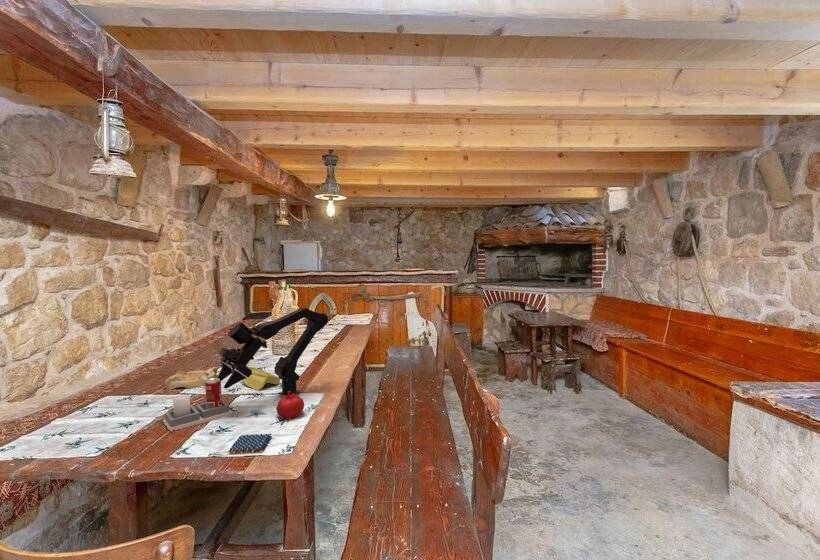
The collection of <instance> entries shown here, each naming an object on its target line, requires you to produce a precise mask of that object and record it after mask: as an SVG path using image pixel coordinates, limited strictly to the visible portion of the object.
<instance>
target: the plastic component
mask: <svg viewBox="0 0 820 560" xmlns="http://www.w3.org/2000/svg"><path fill="white" fill-rule="evenodd" d="M246 366H247V367H248V368H249V369H250V370H252V374H251V376H250V377H249V378H248V377H246V376H245V377H246V379H243V380H242V381H243V383H244V385H245V386H247V387H249V388H252V389H253V390H255V391H261V390H262V389H263V388H264V387H265V385H266V384H271V385H276V386H277V385H278V386H279V384H280V383H281V379H279V377H278V375H276V374H275V375H274V374H272V373H269V372H267V371H264V370H262V369H259V368H255V367H252V366H249V365H246Z"/></svg>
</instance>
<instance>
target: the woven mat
mask: <svg viewBox="0 0 820 560" xmlns="http://www.w3.org/2000/svg"><path fill="white" fill-rule="evenodd" d="M271 435H272V433H265V434H262V433H259V434H258V433H257V434H253V433H252V434H241V435H240V436H239V437H238V438H237V439H236V440H235V442H234V443H233V445H232V446H231V448H229V449H228V453H229V455H231V454H233V455H235V454H236V455H239V454H247V453H248V454H254V453H255V454H257V453H258V452H259V453H263V451H265V449H266V447H267V446H268V444H269V443H270V440H271V439H272V438H273V436H271Z"/></svg>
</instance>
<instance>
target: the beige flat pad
mask: <svg viewBox="0 0 820 560" xmlns="http://www.w3.org/2000/svg"><path fill="white" fill-rule="evenodd" d="M217 372H218V369H217V368H215V367H209V368H208V369H205V370H202V369H201V370H191V371H185V370H177V371H175V374H173V375H170V377H168V378H167V379H165V381H164V383H163V385H164V389H165V388H166V389H165V390H173V389H176V388H187V389H196V387H197V388H202V387H201V386H203V387H205V384H206V381H207V380H208V379H212V378H217V377H218V375H217Z"/></svg>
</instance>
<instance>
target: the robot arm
mask: <svg viewBox="0 0 820 560" xmlns="http://www.w3.org/2000/svg"><path fill="white" fill-rule="evenodd" d="M302 319H306V320H307V324H306V327H305V329H304V331H303V332H302V333H301V335H300V337H299V338H298V339H297V341H296V342H295V344H294V345H293V347H292V349H291V350H290V351H289V353H288V354H287V355H286V356H285V357H283V356H280V357H279V358H278V360H277V362H276V363H275V364H274V365H275V366H274V369H273V370H274V373H275V376H277V377H279V379H280V380H281V391H280V392H278V395H279V396H281V395H284V396H288V393H287V392H288V391H291V392H290V395H293V394H294V393H295V394H298V395H299V394H300V393H301V392H300V391H299V390H297V382H298V381H299V379H300V377H301V376H300V374H298V373H297V372H295V371H296V370H297V365H298V361H299V359H300V358H301V357H302V355H303V353H304V352H305V350H306V349H307V347H308V346H309V344H310V343H311V341H312V340H313V338H314V337H315V335H316V334H317V333H319V332H320V331H321V330H323V329H324V328H325V326H326V325H327V324H328V323H329V316H328V315H327V314H326V313H324V312H318V311H314V310H311V309H309V308H307V307H303V306H302V307H299V308H298V309H295V310H294V311H291V312H290V313H287V314H285V315H283V316H281V317H279V318H277V319H275V320H271V321H264V322H261V323H258V324H257V325H256V326H254V327H251V328H249V327H248V326H246V325H245V323H243V322H241V321H240V322H238V324H236V325H234V326H233V327H231V329H230V330H229V332H228V333H227V336H228V337H229V338H230V339H232V340H233V341H234V342H236V343H237V344H238V345H242V344H243V345H242V346H241V348H240V347H239V348H232V347H231V348H226V347H223V346H222V347H221V350H220V351H219V355H218V356H219V357H221V358H220V366H221V367H220V371H219V373H218V375H217V376H218V377H217V378H219V379H220V381H221V382H222V381H223V380H225V379H226V378H227V377H229V378H228V379H227V381H226V383H224V386H223V388H224V389H228V388H230V387H232V386H234V385H236V384H238V383H239V382H241V381H243V379H246V377H248V378H249V377H250V376H251V374H252V370H250V369H249V368H248V367H247V366H248V364H249V363H250V361H254V359H255V355H256V354H257V353H258V352H259V350H260V349H261V348H264V349H268V345H267V343H268V342H267V341H266V340H269V339H271V338H273V337H275V336H276V335H277V334H278V333H279V332H280V330H282V329H284V328H286V327H288V326H291V325H292V324H294V323H296V322H298V321H300V320H302ZM254 336H255V337H254ZM262 339H263V340H262ZM245 376H246V377H245ZM295 394H294V395H295ZM284 396H283V397H284Z"/></svg>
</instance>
